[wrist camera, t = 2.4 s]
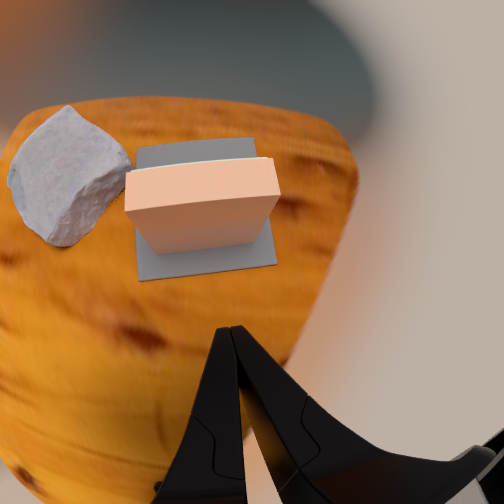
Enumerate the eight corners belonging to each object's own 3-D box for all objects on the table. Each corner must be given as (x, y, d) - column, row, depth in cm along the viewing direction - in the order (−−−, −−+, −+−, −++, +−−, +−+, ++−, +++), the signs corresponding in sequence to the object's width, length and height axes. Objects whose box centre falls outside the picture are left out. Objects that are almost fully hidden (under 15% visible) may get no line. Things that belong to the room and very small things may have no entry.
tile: (253, 243, 20) (280, 194, 12) (156, 254, 19) (124, 211, 11) (248, 215, 20) (271, 154, 13) (154, 225, 19) (126, 168, 11)
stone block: (79, 265, 20) (148, 168, 20) (43, 260, 15) (125, 141, 16) (23, 194, 20) (78, 117, 21) (-6, 181, 16) (55, 93, 17)
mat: (276, 264, 20) (277, 263, 20) (139, 281, 18) (138, 280, 18) (252, 139, 23) (253, 137, 22) (137, 150, 21) (137, 148, 20)
